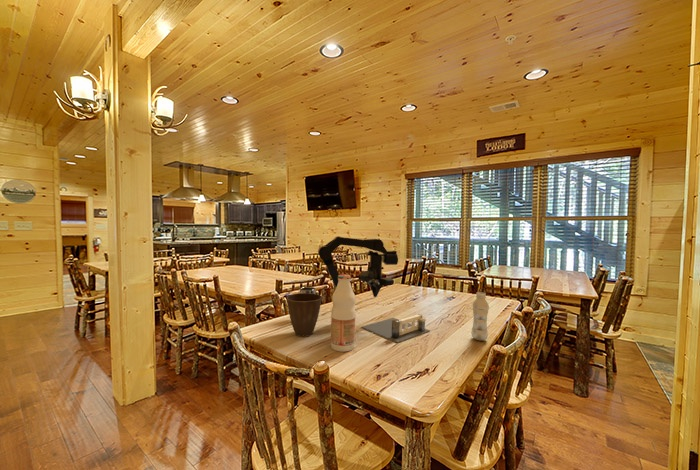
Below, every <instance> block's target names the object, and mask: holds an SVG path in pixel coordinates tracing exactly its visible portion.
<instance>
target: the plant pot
mask: <svg viewBox="0 0 700 470" xmlns="http://www.w3.org/2000/svg"><path fill="white" fill-rule="evenodd" d="M286 302H287V310H288V315H289V319H290V323H291V325H292V329H293V331H294V334H295V336H298V337H304V338H305V337H310V336H312V335H313V333H314V331H315V329H316V325H317V322H318V318H319V315H320V310H321V304H322V295H320V294H318V293H317V294H316V293H315V294H312V293H300V292H299V293H294V294H290V295H288V296H287V297H286Z"/></svg>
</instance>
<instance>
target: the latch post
mask: <svg viewBox="0 0 700 470" xmlns="http://www.w3.org/2000/svg"><path fill="white" fill-rule="evenodd" d="M418 320H419V326H418V331H421V332H423V331H425V329H426V326H425V325H426V321H427V320H426V319H425V318H423V317H422V318H420V319H418Z"/></svg>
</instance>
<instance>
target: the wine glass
mask: <svg viewBox="0 0 700 470" xmlns="http://www.w3.org/2000/svg"><path fill="white" fill-rule="evenodd" d="M299 293H312V294H316V287H314V286H303V287H300V288H299Z"/></svg>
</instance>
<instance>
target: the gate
mask: <svg viewBox="0 0 700 470" xmlns="http://www.w3.org/2000/svg"><path fill="white" fill-rule="evenodd" d="M420 318H423V314H420V313H418V314H415V315H412V316H408V317H406V318H405V317H404V318H401V319H398V320H399V336H400V335H403V334H406V333H409V332H412V331H415V330H418V326H419V320H418V319H420ZM416 321H417V322H416ZM408 323H411V324H412V327H408ZM403 324H405V329H402V325H403Z"/></svg>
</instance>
